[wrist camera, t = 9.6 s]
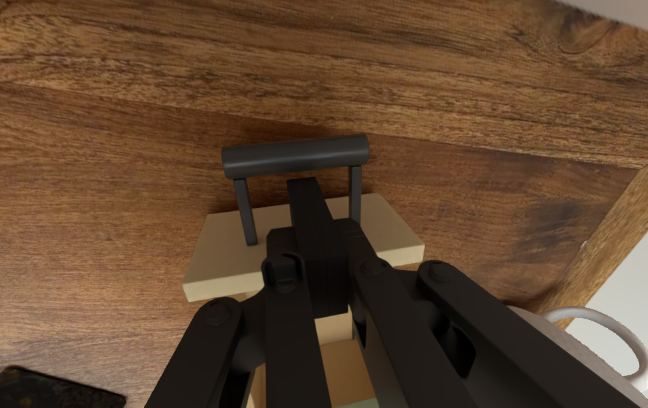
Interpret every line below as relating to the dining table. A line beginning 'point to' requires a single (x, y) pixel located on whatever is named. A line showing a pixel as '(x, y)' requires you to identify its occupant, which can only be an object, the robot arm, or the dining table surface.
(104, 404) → the candle
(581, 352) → the mug
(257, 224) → the drawer
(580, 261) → the dining table surface
